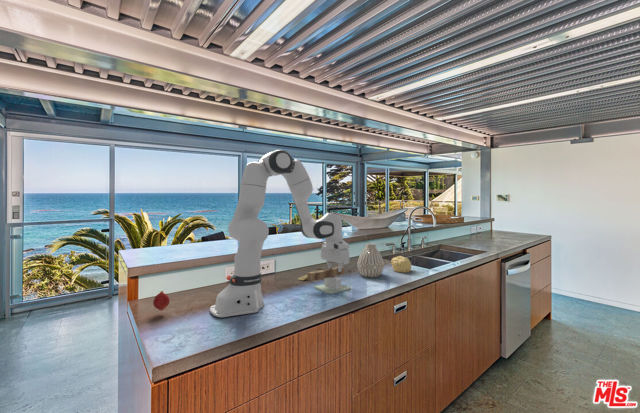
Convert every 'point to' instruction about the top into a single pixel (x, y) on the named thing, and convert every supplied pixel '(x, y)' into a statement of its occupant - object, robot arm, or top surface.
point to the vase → (370, 262)
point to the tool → (306, 276)
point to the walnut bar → (324, 273)
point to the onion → (161, 301)
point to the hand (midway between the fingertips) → (334, 270)
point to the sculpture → (401, 264)
